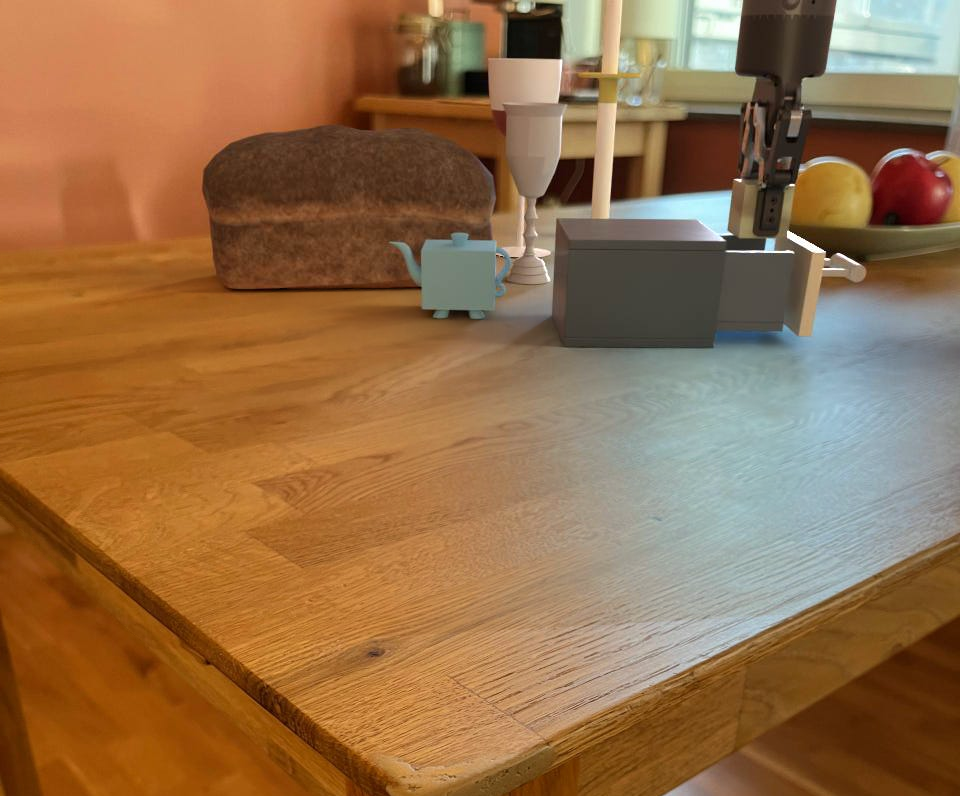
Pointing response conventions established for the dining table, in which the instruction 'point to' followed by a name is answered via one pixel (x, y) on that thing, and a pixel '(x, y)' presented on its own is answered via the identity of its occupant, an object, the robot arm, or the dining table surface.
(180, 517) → the dining table surface
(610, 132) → the candle
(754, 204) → the block
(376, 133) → the bread
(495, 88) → the wineglass
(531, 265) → the chalice
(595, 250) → the cabinet
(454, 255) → the teapot
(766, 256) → the drawer
